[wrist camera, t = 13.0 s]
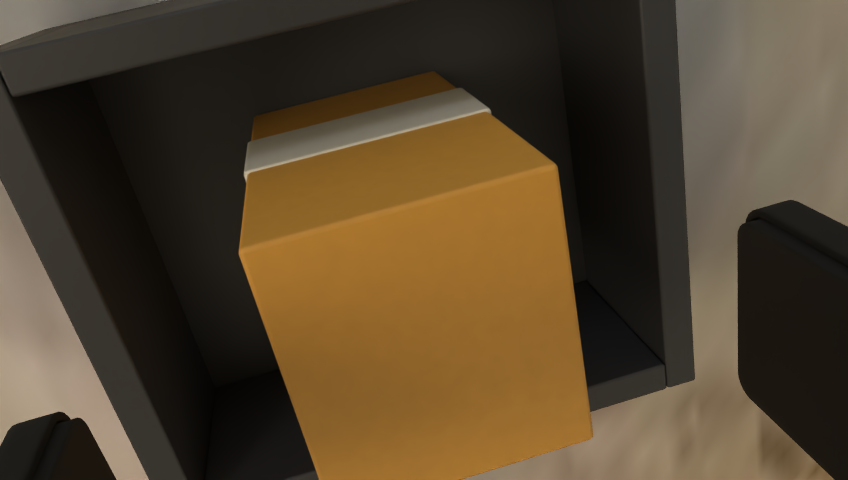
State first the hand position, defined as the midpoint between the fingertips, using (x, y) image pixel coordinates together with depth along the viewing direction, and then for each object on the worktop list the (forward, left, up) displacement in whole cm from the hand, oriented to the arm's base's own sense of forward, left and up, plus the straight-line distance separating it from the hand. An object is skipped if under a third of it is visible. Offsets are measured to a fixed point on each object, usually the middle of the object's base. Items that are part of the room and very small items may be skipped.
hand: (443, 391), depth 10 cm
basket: (0, 0, -12) cm, 12 cm away
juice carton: (+1, 0, -11) cm, 11 cm away
